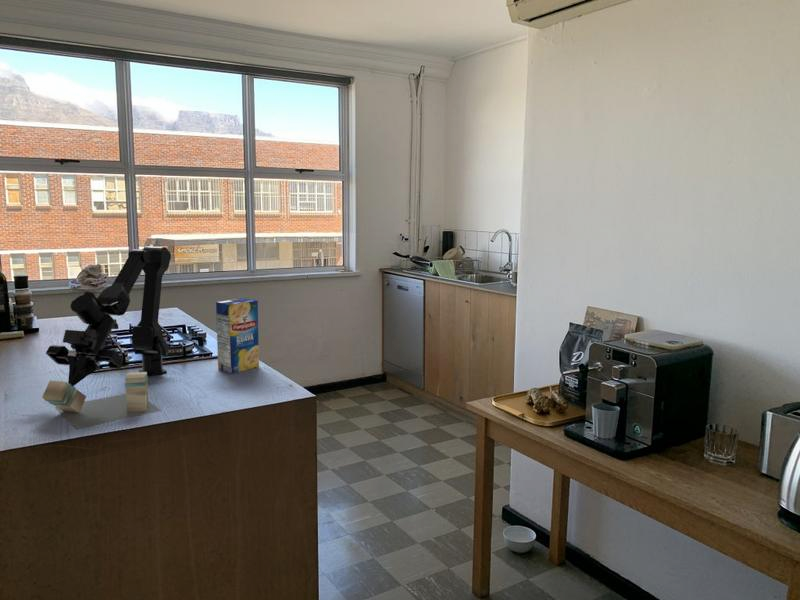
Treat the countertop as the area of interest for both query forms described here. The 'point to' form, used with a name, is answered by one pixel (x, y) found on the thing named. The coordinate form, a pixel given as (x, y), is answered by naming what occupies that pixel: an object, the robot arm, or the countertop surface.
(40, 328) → the countertop surface
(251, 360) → the beverage box
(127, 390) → the post
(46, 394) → the beige striped block
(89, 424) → the mat
